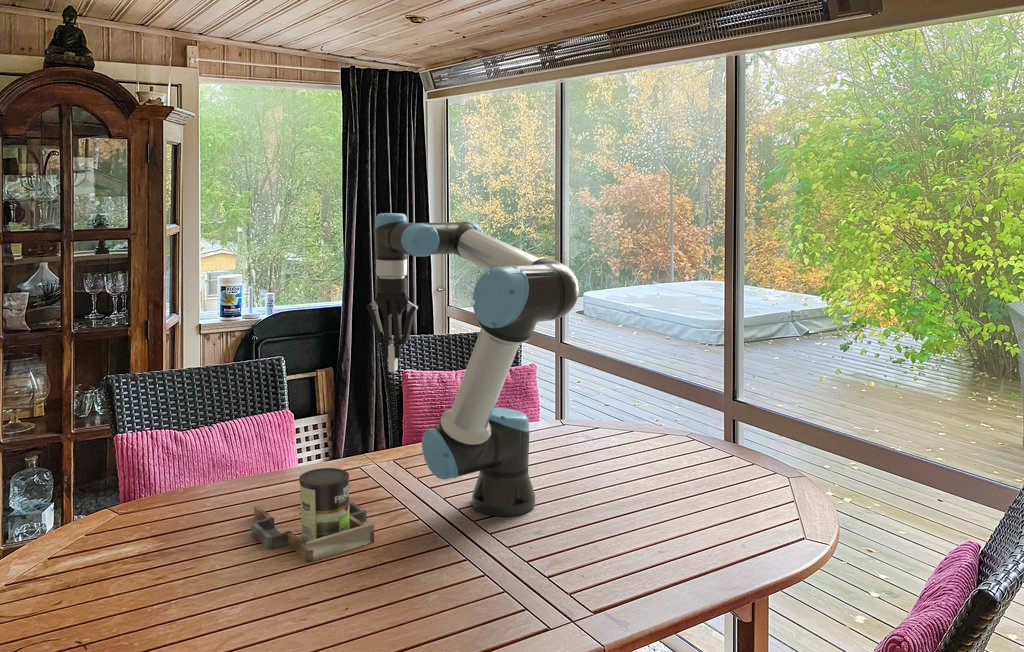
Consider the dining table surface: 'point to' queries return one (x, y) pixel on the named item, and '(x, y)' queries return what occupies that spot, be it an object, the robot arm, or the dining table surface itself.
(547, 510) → the dining table surface
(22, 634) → the dining table surface
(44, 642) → the dining table surface
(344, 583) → the dining table surface
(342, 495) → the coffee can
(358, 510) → the box
